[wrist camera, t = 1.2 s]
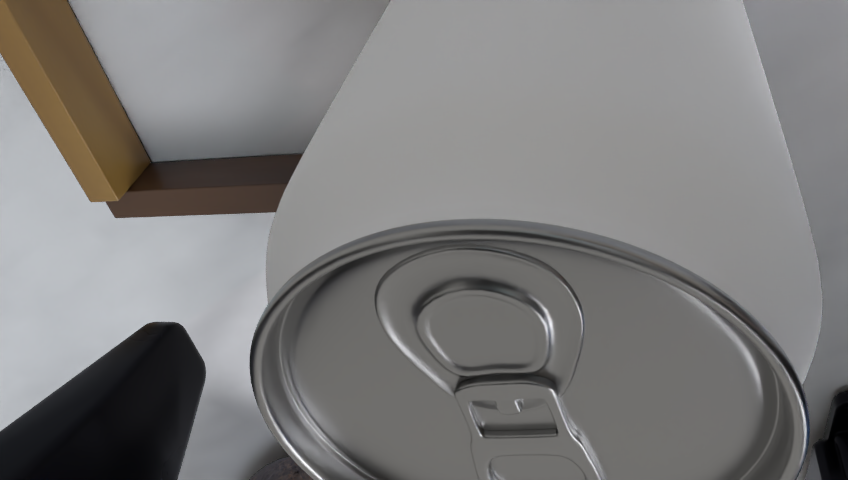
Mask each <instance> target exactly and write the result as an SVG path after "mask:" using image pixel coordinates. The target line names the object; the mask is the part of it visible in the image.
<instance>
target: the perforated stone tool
mask: <svg viewBox="0 0 848 480" xmlns="http://www.w3.org/2000/svg"><path fill="white" fill-rule="evenodd" d="M249 480H314V479H313V478H311V477H310V476H309V475H308V474H307V473H306V472H305V471H304V470H303V469H302V468H301V467H300V466H299V465H298V464H297V463H296V462H295V461H294V460H293V459H292V458H291V457H285V458H281V459H278V460H276V461H274V462H272V463H270V464H268V465H267V466H265V467H263V468H262V469H261V470H259V471H258V472H257V473H256V474H255V475H254V476H253V477H251V478H250V479H249Z"/></svg>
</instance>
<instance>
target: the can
mask: <svg viewBox="0 0 848 480" xmlns="http://www.w3.org/2000/svg"><path fill="white" fill-rule="evenodd" d="M266 286H267V298H268V305H267V307H266V308H265V310H264V312H263V314H262V316H261V318H260V320H259V322H258V324H257V327H256V330H255V333H254V336H253V340H252V345H251V352H250V376H251V383H252V388H253V392H254V396H255V399H256V402H257V405H258V407H259V410H260V412H261V414H262V416H263V418H264V420H265V422H266V424H267V426H268V428H269V429H270V431H271V432H272V434H273V435H274V437H275V438H276V440H277V441H278V443H279V444H280V445H281V446H282V448H283V449H284V450H285V451H286V452H287V454H288V455H289V456H290V457H291V458H292V459H293V460H294V461H295V462H296V463H297V464H298V465H299V466H300V467H301V468H302V469H303V470H304V471H305V472H306V473H307V474H308V475H309V476H310V477H311V478H313V479H314V480H796V479H797V477H798V475H799V473H800V471H801V468H802V466H803V463H804V461H805V457H806V454H807V450H808V445H809V436H810V419H809V411H808V405H807V401H806V396H805V393H804V390H803V387H802V385H803V383H804V381H805V378H806V376H807V374H808V371H809V368H810V365H811V362H812V360H813V357H814V354H815V350H816V347H817V343H818V338H819V334H820V329H821V323H822V313H823V297H822V286H821V278H820V269H819V262H818V257H817V253H816V249H815V245H814V241H813V237H812V233H811V229H810V225H809V221H808V217H807V213H806V210H805V206H804V203H803V199H802V196H801V192H800V189H799V186H798V182H797V179H796V175H795V172H794V168H793V165H792V161H791V158H790V155H789V151H788V148H787V145H786V141H785V138H784V135H783V131H782V128H781V125H780V121H779V118H778V115H777V112H776V108H775V105H774V102H773V98H772V95H771V92H770V88H769V85H768V82H767V79H766V75H765V72H764V69H763V66H762V62H761V59H760V56H759V53H758V49H757V46H756V43H755V40H754V36H753V33H752V30H751V27H750V23H749V20H748V17H747V14H746V11H745V7H744V4H743V1H742V0H391V1H390V3H389V4H388V6H387V8H386V9H385V11H384V13H383V15H382V16H381V18H380V20H379V22H378V23H377V25H376V27H375V29H374V30H373V32H372V34H371V35H370V37H369V39H368V41H367V42H366V44H365V46H364V48H363V49H362V51H361V53H360V55H359V56H358V58H357V60H356V62H355V63H354V65H353V67H352V69H351V70H350V72H349V74H348V76H347V77H346V79H345V81H344V83H343V84H342V86H341V88H340V90H339V91H338V93H337V95H336V97H335V98H334V100H333V102H332V104H331V105H330V107H329V109H328V111H327V112H326V114H325V116H324V118H323V120H322V121H321V123H320V125H319V127H318V129H317V130H316V132H315V134H314V136H313V138H312V139H311V141H310V143H309V145H308V147H307V148H306V150H305V152H304V154H303V156H302V157H301V159H300V161H299V163H298V165H297V167H296V169H295V171H294V173H293V175H292V177H291V179H290V181H289V183H288V185H287V187H286V189H285V191H284V193H283V196H282V198H281V201H280V203H279V206H278V208H277V211H276V214H275V217H274V220H273V223H272V226H271V230H270V234H269V239H268V246H267V257H266Z"/></svg>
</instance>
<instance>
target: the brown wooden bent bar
mask: <svg viewBox="0 0 848 480" xmlns="http://www.w3.org/2000/svg"><path fill="white" fill-rule="evenodd" d="M0 54H1V55H2V57H3V59H4V60H5V62H6V63H7V65H8V67H9V68H10V70H11V72H12V73H13V75H14V77H15V78H16V80H17V82H18V83H19V85H20V87H21V88H22V90H23V91H24V93H25V95H26V96H27V98H28V100H29V101H30V103H31V105H32V106H33V108H34V110H35V111H36V113H37V115H38V116H39V118H40V119H41V121H42V123H43V124H44V126H45V128H46V129H47V131H48V133H49V134H50V136H51V138H52V139H53V141H54V143H55V144H56V146H57V147H58V149H59V151H60V152H61V154H62V156H63V157H64V159H65V161H66V162H67V164H68V166H69V167H70V169H71V171H72V172H73V174H74V175H75V177H76V179H77V180H78V182H79V184H80V185H81V187H82V189H83V190H84V192H85V194H86V195H87V197H88V198H89V200H90V201H91V202H106V203H107V205H108V207H109V208H110V210H111V212H112V213H113V215H114V217H115V218H130V217H157V216H185V215H212V214H240V213H267V212H276V211H277V208H278V206H279V203H280V201H281V198H282V196H283V193H284V191H285V189H286V187H287V185H288V183H289V181H290V179H291V177H292V175H293V173H294V171H295V169H296V167H297V165H298V163H299V161H300V159H301V157H302V156H303V154H293V155H277V156H260V157H244V158H227V159H211V160H194V161H178V162H161V163H151V161H150V159H149V157H148V156H147V154H146V152H145V150H144V148H143V146H142V144H141V142H140V140H139V138H138V136H137V134H136V132H135V131H134V129H133V127H132V125H131V123H130V121H129V119H128V117H127V115H126V113H125V111H124V109H123V107H122V106H121V104H120V102H119V100H118V98H117V96H116V94H115V92H114V90H113V88H112V86H111V84H110V82H109V81H108V79H107V77H106V75H105V73H104V71H103V69H102V67H101V65H100V63H99V61H98V59H97V57H96V56H95V54H94V52H93V50H92V48H91V46H90V44H89V42H88V40H87V38H86V36H85V34H84V32H83V31H82V29H81V27H80V25H79V23H78V21H77V19H76V17H75V15H74V13H73V11H72V9H71V7H70V5H69V4H68V2H67V0H0Z"/></svg>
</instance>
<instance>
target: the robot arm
mask: <svg viewBox="0 0 848 480" xmlns="http://www.w3.org/2000/svg"><path fill="white" fill-rule="evenodd" d="M205 378H206V367H205V363H204V361H203V359H202V357H201V355H200V354H199V352H198V350H197V349H196V347H195V345H194V343H193V342H192V340H191V338H190V337H189V335H188V333H187V331H186V330H185V328H184V327H183V326H182V325H180V324H179V323H176V322H152V323H149V324H146V325H145V326H143V327H142V328H140V329H139V330H138V331H136V332H135V333H134V334H132V335H131V336H130V337H128V338H127V339H126V340H124V341H123V342H121V343H120V344H119V345H117V346H116V347H115V348H113V349H112V350H111V351H109V352H108V353H106V354H105V355H104V356H102V357H101V358H100V359H98V360H97V361H96V362H94V363H93V364H91V365H90V366H89V367H87V368H86V369H85V370H83V371H82V372H81V373H79V374H78V375H77V376H75V377H74V378H72V379H71V380H70V381H68V382H67V383H66V384H64V385H63V386H62V387H60V388H59V389H57V390H56V391H55V392H53V393H52V394H51V395H49V396H48V397H47V398H45V399H44V400H42V401H41V402H40V403H38V404H37V405H36V406H34V407H33V408H32V409H30V410H29V411H28V412H26V413H25V414H23V415H22V416H21V417H19V418H18V419H17V420H15V421H14V422H13V423H11V424H10V425H8V426H7V427H6V428H4V429H3V430H2V431H0V480H177V479H178V475H179V472H180V469H181V466H182V462H183V458H184V455H185V451H186V448H187V444H188V440H189V437H190V433H191V430H192V426H193V422H194V419H195V415H196V412H197V408H198V404H199V401H200V397H201V394H202V390H203V386H204V383H205ZM805 480H848V391H844V392H841V393H839V394H837V395H836V396H835V397H834V399H833V401H832V405H831V409H830V413H829V417H828V421H827V425H826V429H825V433H824V437H823V439H819V440H818V441H817V442H816V443H815V444H814V445H813V447H812V452H811V456H810V460H809V465H808V469H807V473H806V477H805Z"/></svg>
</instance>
